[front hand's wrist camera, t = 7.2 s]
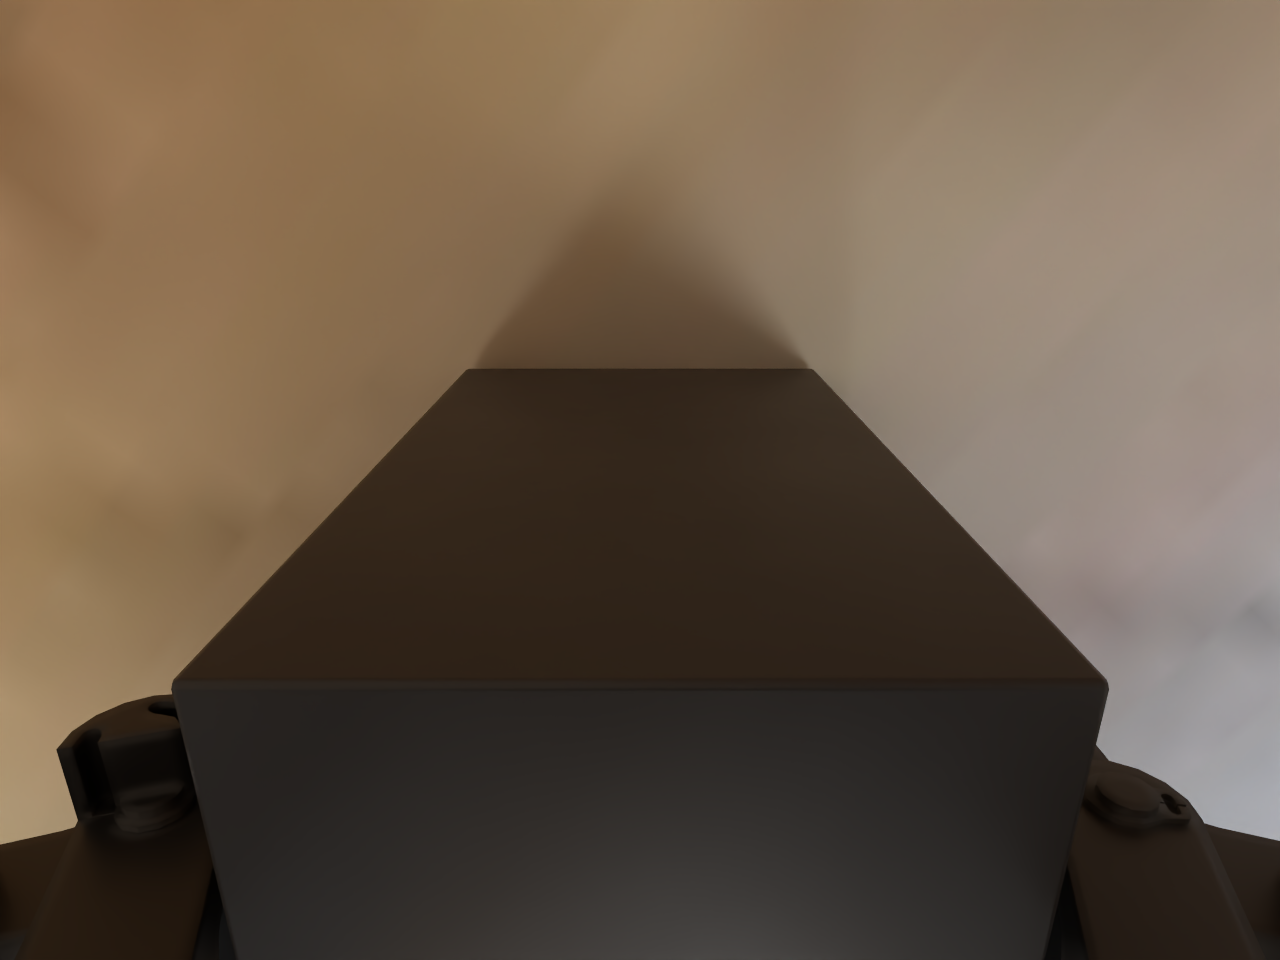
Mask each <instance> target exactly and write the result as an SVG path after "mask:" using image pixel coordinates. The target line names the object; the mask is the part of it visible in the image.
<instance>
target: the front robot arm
mask: <svg viewBox="0 0 1280 960" xmlns="http://www.w3.org/2000/svg"><path fill="white" fill-rule="evenodd" d="M56 750H57V753H58V756H59V760H60V763H61V766H62V769H63V773H64V776H65V779H66V783H67V786H68V789H69V792H70V796H71V799H72V802H73V805H74V809H75V812H76V815H77V819H78V822H77V824H76V826H75V827H74V828H71V829H67V830H64V831H60V832H56V833H51V834H47V835H42V836H38V837H33V838H29V839H24V840H19V841H15V842H10V843H6V844H1V845H0V960H236V959H235V955H234V950H233V946H232V942H231V938H230V934H229V929H228V925H227V921H226V917H225V913H224V908H223V904H222V900H221V896H220V892H219V887H218V883H217V879H216V875H215V871H214V866H213V862H212V858H211V854H210V850H209V845H208V841H207V837H206V833H205V829H204V824H203V820H202V816H201V812H200V808H199V803H198V799H197V795H196V791H195V787H194V782H193V778H192V774H191V770H190V766H189V761H188V757H187V753H186V749H185V745H184V740H183V736H182V732H181V728H180V724H179V719H178V715H177V711H176V707H175V703H174V698H173V695H157V696H151V697H147V698H143V699H139V700H135V701H131V702H127V703H124V704H121V705H119V706H117V707H115V708H112V709H110V710H108V711H105V712H103V713H101V714H98V715H96V716H95V717H93V718H92V719H90V720H89V721H87V722H86V723H84V724H83V725H81V726H80V727H78V728H77V729H75V730H74V731H72V732H71V733H70V734H69V736H68V737H67V738H66V739H65V740H64V741H63V742H62V744H61V745H60V746H59V747H58V748H57V749H56ZM1045 960H1280V841H1277V840H1273V839H1268V838H1263V837H1259V836H1254V835H1250V834H1245V833H1241V832H1236V831H1232V830H1227V829H1222V828H1218V827H1215V826H1211V825H1208V824H1204V822H1203V820H1202V819H1201V817H1200V816H1199V815H1198V813H1197V812H1196V810H1195V809H1194V808H1193V806H1192V805H1191V804H1190V802H1189V801H1188V800H1187V799H1186V798H1184V797H1183V796H1182V795H1181V794H1179V793H1178V792H1177V791H1175V790H1174V789H1173V788H1172V787H1170V786H1169V785H1168V784H1166V783H1165V782H1163V781H1161V780H1159V779H1157V778H1155V777H1153V776H1151V775H1149V774H1147V773H1145V772H1143V771H1141V770H1139V769H1136V768H1132V767H1129V766H1125V765H1122V764H1118V763H1115V762H1111V761H1109V760H1108V759H1107V758H1106V757H1105V755H1104V754H1103V753H1102V752H1101V750H1100V749H1099V748H1098V747H1097V746H1095V750H1094V754H1093V758H1092V763H1091V767H1090V771H1089V775H1088V779H1087V784H1086V788H1085V792H1084V796H1083V800H1082V805H1081V809H1080V813H1079V817H1078V821H1077V826H1076V830H1075V834H1074V838H1073V842H1072V847H1071V851H1070V855H1069V859H1068V863H1067V867H1066V872H1065V876H1064V880H1063V884H1062V888H1061V893H1060V897H1059V901H1058V905H1057V909H1056V914H1055V918H1054V922H1053V926H1052V930H1051V935H1050V939H1049V943H1048V947H1047V951H1046V956H1045Z"/></svg>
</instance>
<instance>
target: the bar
mask: <svg viewBox="0 0 1280 960" xmlns="http://www.w3.org/2000/svg"><path fill="white" fill-rule="evenodd" d="M171 690H172V694H173V698H174V703H175V707H176V711H177V715H178V719H179V724H180V728H181V732H182V736H183V740H184V745H185V749H186V753H187V757H188V761H189V766H190V770H191V774H192V778H193V782H194V787H195V791H196V795H197V799H198V803H199V808H200V812H201V816H202V820H203V824H204V829H205V833H206V837H207V841H208V845H209V850H210V854H211V858H212V862H213V866H214V871H215V875H216V879H217V883H218V887H219V892H220V896H221V900H222V904H223V908H224V913H225V917H226V921H227V925H228V929H229V934H230V938H231V942H232V946H233V950H234V955H235V959H236V960H1045V956H1046V951H1047V947H1048V943H1049V939H1050V935H1051V930H1052V926H1053V922H1054V918H1055V914H1056V909H1057V905H1058V901H1059V897H1060V893H1061V888H1062V884H1063V880H1064V876H1065V872H1066V867H1067V863H1068V859H1069V855H1070V851H1071V847H1072V842H1073V838H1074V834H1075V830H1076V826H1077V821H1078V817H1079V813H1080V809H1081V805H1082V800H1083V796H1084V792H1085V788H1086V784H1087V779H1088V775H1089V771H1090V767H1091V763H1092V758H1093V754H1094V750H1095V746H1096V742H1097V737H1098V733H1099V729H1100V725H1101V721H1102V716H1103V712H1104V708H1105V704H1106V700H1107V695H1108V691H1109V687H1108V682H1107V680H1106V679H1105V678H1104V676H1103V675H1102V674H1101V673H1100V672H1099V671H1098V670H1097V669H1096V668H1095V667H1094V666H1093V665H1092V664H1091V663H1090V662H1089V661H1088V660H1087V659H1086V657H1085V656H1084V655H1083V654H1082V653H1081V652H1080V651H1079V650H1078V649H1077V648H1076V647H1075V646H1074V645H1073V644H1072V643H1071V642H1070V641H1069V639H1068V638H1067V637H1066V636H1065V635H1064V634H1063V633H1062V632H1061V631H1060V630H1059V629H1058V628H1057V627H1056V626H1055V625H1054V624H1053V623H1052V622H1051V620H1050V619H1049V618H1048V617H1047V616H1046V615H1045V614H1044V613H1043V612H1042V611H1041V610H1040V609H1039V608H1038V607H1037V606H1036V605H1035V604H1034V602H1033V601H1032V600H1031V599H1030V598H1029V597H1028V596H1027V595H1026V594H1025V593H1024V592H1023V591H1022V590H1021V589H1020V588H1019V587H1018V586H1017V585H1016V583H1015V582H1014V581H1013V580H1012V579H1011V578H1010V577H1009V576H1008V575H1007V574H1006V573H1005V572H1004V571H1003V570H1002V569H1001V568H1000V567H999V565H998V564H997V563H996V562H995V561H994V560H993V559H992V558H991V557H990V556H989V555H988V554H987V553H986V552H985V551H984V550H983V549H982V548H981V546H980V545H979V544H978V543H977V542H976V541H975V540H974V539H973V538H972V537H971V536H970V535H969V534H968V533H967V532H966V531H965V530H964V528H963V527H962V526H961V525H960V524H959V523H958V522H957V521H956V520H955V519H954V518H953V517H952V516H951V515H950V514H949V513H948V512H947V511H946V509H945V508H944V507H943V506H942V505H941V504H940V503H939V502H938V501H937V500H936V499H935V498H934V497H933V496H932V495H931V494H930V493H929V491H928V490H927V489H926V488H925V487H924V486H923V485H922V484H921V483H920V482H919V481H918V480H917V479H916V478H915V477H914V476H913V475H912V474H911V472H910V471H909V470H908V469H907V468H906V467H905V466H904V465H903V464H902V463H901V462H900V461H899V460H898V459H897V458H896V457H895V456H894V454H893V453H892V452H891V451H890V450H889V449H888V448H887V447H886V446H885V445H884V444H883V443H882V442H881V441H880V440H879V439H878V438H877V437H876V435H875V434H874V433H873V432H872V431H871V430H870V429H869V428H868V427H867V426H866V425H865V424H864V423H863V422H862V421H861V420H860V419H859V418H858V416H857V415H856V414H855V413H854V412H853V411H852V410H851V409H850V408H849V407H848V406H847V405H846V404H845V403H844V402H843V401H842V400H841V398H840V397H839V396H838V395H837V394H836V393H835V392H834V391H833V390H832V389H831V388H830V387H829V386H828V385H827V384H826V383H825V382H824V381H823V379H822V378H821V377H820V376H819V375H818V374H817V373H816V372H815V371H814V370H812V369H468V370H466V371H465V372H464V373H463V374H462V375H461V376H460V377H459V379H458V380H457V381H456V382H455V383H454V384H453V385H452V386H451V387H450V388H449V389H448V390H447V391H446V392H445V393H444V394H443V395H442V397H441V398H440V399H439V400H438V401H437V402H436V403H435V404H434V405H433V406H432V407H431V408H430V409H429V410H428V411H427V412H426V413H425V414H424V416H423V417H422V418H421V419H420V420H419V421H418V422H417V423H416V424H415V425H414V426H413V427H412V428H411V429H410V430H409V431H408V432H407V434H406V435H405V436H404V437H403V438H402V439H401V440H400V441H399V442H398V443H397V444H396V445H395V446H394V447H393V448H392V449H391V450H390V451H389V453H388V454H387V455H386V456H385V457H384V458H383V459H382V460H381V461H380V462H379V463H378V464H377V465H376V466H375V467H374V468H373V469H372V471H371V472H370V473H369V474H368V475H367V476H366V477H365V478H364V479H363V480H362V481H361V482H360V483H359V484H358V485H357V486H356V487H355V489H354V490H353V491H352V492H351V493H350V494H349V495H348V496H347V497H346V498H345V499H344V500H343V501H342V502H341V503H340V504H339V505H338V506H337V508H336V509H335V510H334V511H333V512H332V513H331V514H330V515H329V516H328V517H327V518H326V519H325V520H324V521H323V522H322V523H321V524H320V526H319V527H318V528H317V529H316V530H315V531H314V532H313V533H312V534H311V535H310V536H309V537H308V538H307V539H306V540H305V541H304V542H303V544H302V545H301V546H300V547H299V548H298V549H297V550H296V551H295V552H294V553H293V554H292V555H291V556H290V557H289V558H288V559H287V560H286V561H285V563H284V564H283V565H282V566H281V567H280V568H279V569H278V570H277V571H276V572H275V573H274V574H273V575H272V576H271V577H270V578H269V579H268V581H267V582H266V583H265V584H264V585H263V586H262V587H261V588H260V589H259V590H258V591H257V592H256V593H255V594H254V595H253V596H252V597H251V599H250V600H249V601H248V602H247V603H246V604H245V605H244V606H243V607H242V608H241V609H240V610H239V611H238V612H237V613H236V614H235V615H234V616H233V618H232V619H231V620H230V621H229V622H228V623H227V624H226V625H225V626H224V627H223V628H222V629H221V630H220V631H219V632H218V633H217V634H216V636H215V637H214V638H213V639H212V640H211V641H210V642H209V643H208V644H207V645H206V646H205V647H204V648H203V649H202V650H201V651H200V652H199V654H198V655H197V656H196V657H195V658H194V659H193V660H192V661H191V662H190V663H189V664H188V665H187V666H186V667H185V668H184V669H183V670H182V671H181V673H180V674H179V675H178V676H177V677H176V678H175V679H174V680H173V683H172V689H171Z"/></svg>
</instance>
